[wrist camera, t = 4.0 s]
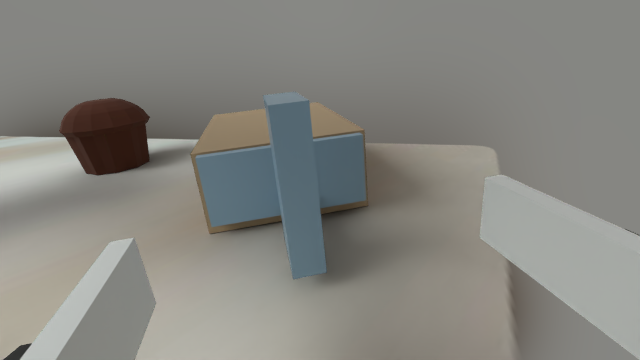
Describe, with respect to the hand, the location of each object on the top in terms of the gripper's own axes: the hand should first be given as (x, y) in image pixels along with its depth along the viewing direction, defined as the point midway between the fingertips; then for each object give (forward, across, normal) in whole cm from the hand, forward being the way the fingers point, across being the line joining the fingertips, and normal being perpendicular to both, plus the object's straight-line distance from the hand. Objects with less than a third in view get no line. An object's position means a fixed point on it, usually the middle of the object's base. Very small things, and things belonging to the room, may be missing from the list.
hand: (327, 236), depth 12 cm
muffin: (+44, -24, -7) cm, 51 cm away
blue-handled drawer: (+20, 0, -6) cm, 21 cm away
